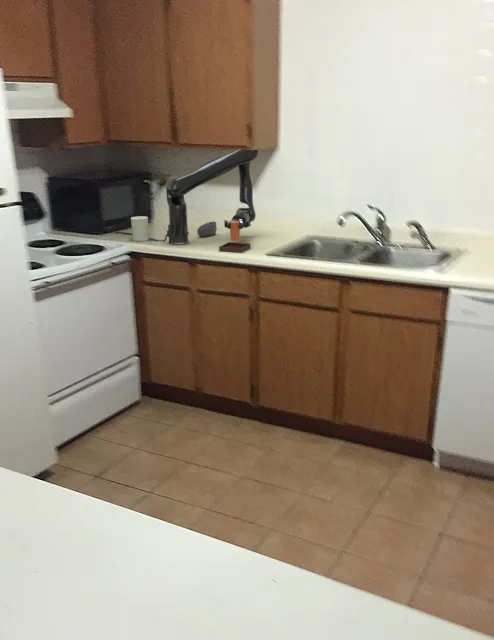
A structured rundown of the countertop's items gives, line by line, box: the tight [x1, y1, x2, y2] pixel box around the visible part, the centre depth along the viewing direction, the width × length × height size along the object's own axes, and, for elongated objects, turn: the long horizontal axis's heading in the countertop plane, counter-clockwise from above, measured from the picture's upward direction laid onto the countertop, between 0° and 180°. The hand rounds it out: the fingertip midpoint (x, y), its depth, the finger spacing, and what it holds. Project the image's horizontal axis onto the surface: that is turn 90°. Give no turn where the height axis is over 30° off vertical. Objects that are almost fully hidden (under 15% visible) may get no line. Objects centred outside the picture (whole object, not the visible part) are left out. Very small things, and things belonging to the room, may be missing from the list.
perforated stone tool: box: [196, 221, 218, 238], centre depth 364 cm, size 15×5×7 cm, turn 139°
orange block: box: [229, 220, 241, 242], centre depth 330 cm, size 5×5×9 cm
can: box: [130, 215, 150, 242], centre depth 357 cm, size 9×9×12 cm
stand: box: [218, 241, 252, 254], centre depth 333 cm, size 12×12×2 cm
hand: (233, 226), depth 326 cm, fingers closed on orange block, 5 cm apart
